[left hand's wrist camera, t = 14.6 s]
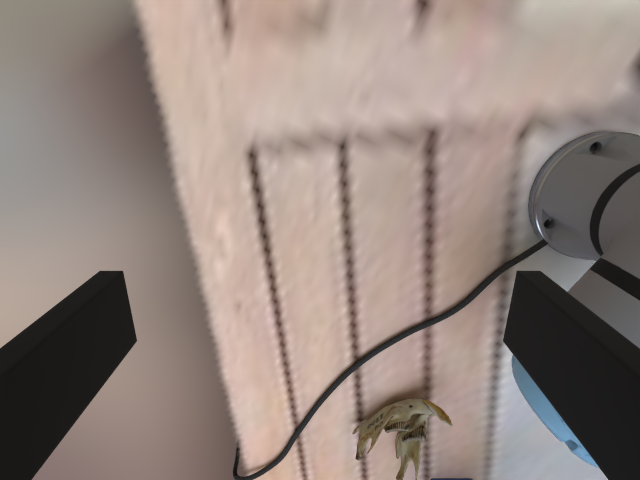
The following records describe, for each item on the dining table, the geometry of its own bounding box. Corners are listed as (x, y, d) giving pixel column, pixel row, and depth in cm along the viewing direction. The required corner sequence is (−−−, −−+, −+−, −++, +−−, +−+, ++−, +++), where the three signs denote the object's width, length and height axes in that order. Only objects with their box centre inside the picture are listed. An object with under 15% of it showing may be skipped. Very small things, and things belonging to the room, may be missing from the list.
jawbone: (478, 411, 52) (469, 493, 45) (407, 419, 63) (393, 485, 57) (425, 377, 50) (409, 456, 44) (363, 392, 62) (343, 456, 56)
